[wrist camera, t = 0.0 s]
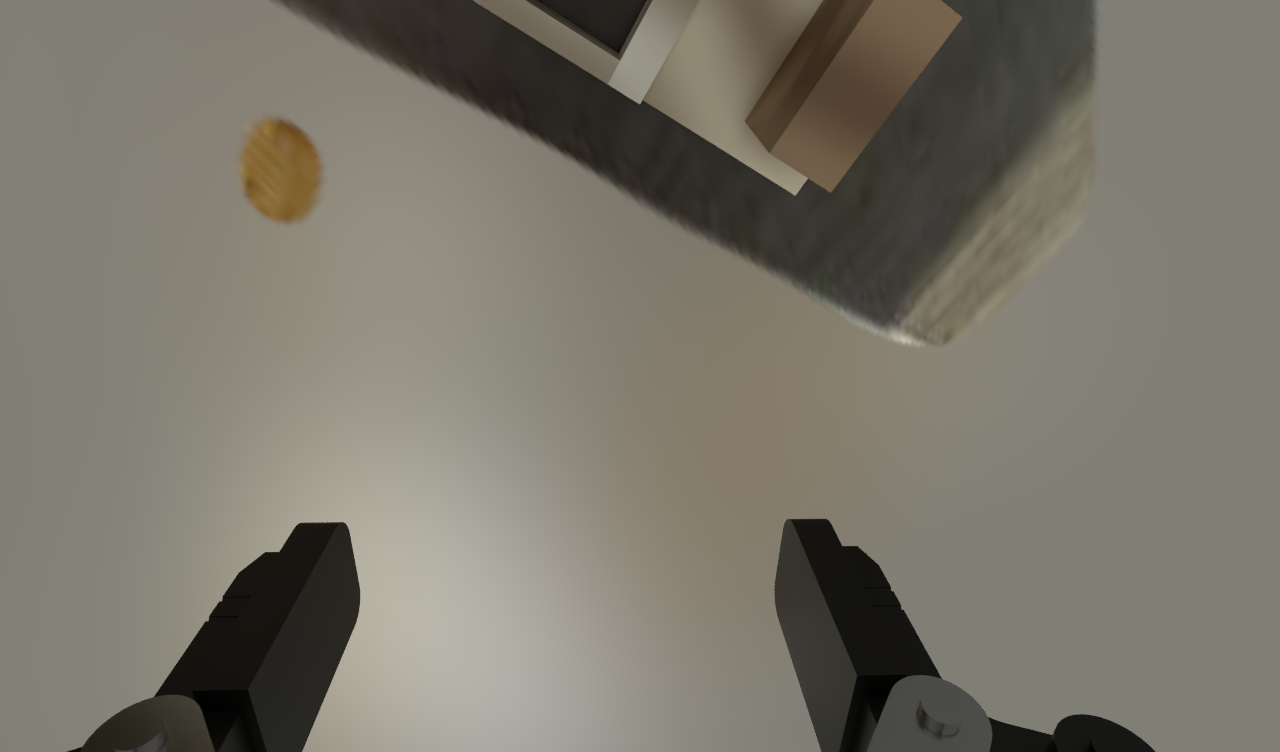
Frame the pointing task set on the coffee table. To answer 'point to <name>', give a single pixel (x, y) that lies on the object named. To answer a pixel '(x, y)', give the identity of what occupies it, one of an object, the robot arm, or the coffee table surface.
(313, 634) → the robot arm
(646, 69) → the white open frame tray
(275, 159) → the coffee table surface
